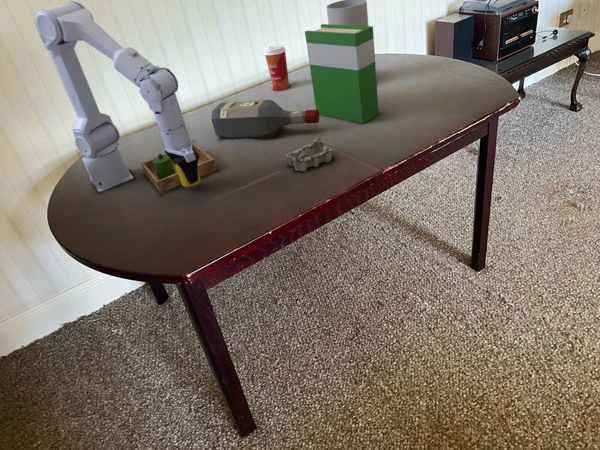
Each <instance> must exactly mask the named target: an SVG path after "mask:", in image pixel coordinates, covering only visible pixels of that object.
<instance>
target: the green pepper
mask: <svg viewBox="0 0 600 450" xmlns="http://www.w3.org/2000/svg"><path fill="white" fill-rule="evenodd" d="M152 159H153V160H152V162H153V165H154V167H155V170H156V173H157V175H158V178H159V180H161V179H163V178H166V177H168V176H171V175H173V174H176V172H175V169H174V166H173V163H172V160H171V158H170V157H169V156H168V155H164V154H162V153H158V154H157V156H155V157H154V158H152Z"/></svg>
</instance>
